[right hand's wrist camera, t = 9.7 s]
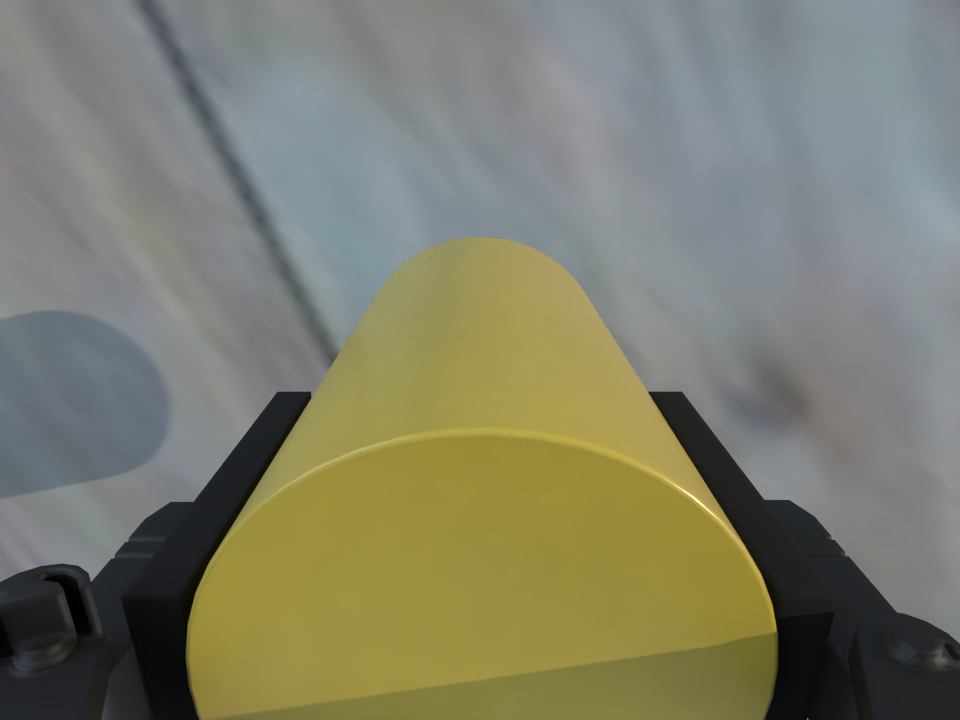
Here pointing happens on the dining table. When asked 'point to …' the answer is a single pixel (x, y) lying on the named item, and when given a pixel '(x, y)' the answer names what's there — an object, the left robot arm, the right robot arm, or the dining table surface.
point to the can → (481, 528)
